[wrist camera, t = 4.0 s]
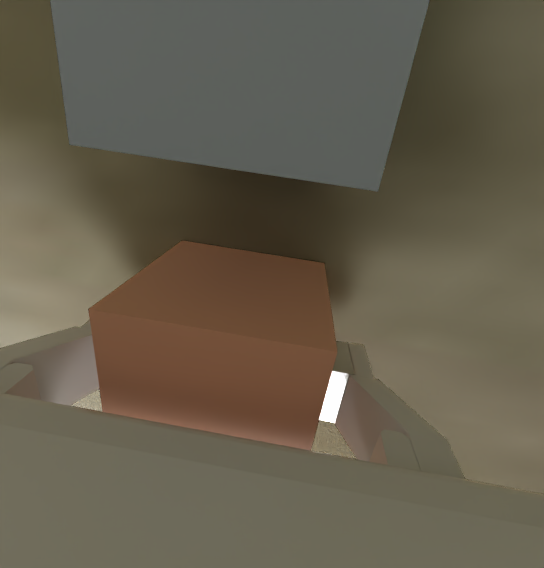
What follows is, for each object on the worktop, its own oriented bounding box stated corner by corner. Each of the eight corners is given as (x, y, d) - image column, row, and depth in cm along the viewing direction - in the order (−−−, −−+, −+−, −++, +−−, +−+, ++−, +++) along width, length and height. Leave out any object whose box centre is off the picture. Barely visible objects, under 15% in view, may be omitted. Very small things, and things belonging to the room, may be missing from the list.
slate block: (344, 170, 9) (377, 191, 5) (183, 146, 9) (69, 145, 5) (393, -54, 7) (537, -401, 3) (186, -79, 7) (-8, -436, 3)
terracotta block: (300, 376, 12) (295, 506, 8) (181, 355, 13) (111, 470, 8) (324, 263, 10) (337, 351, 6) (181, 240, 11) (88, 309, 6)
